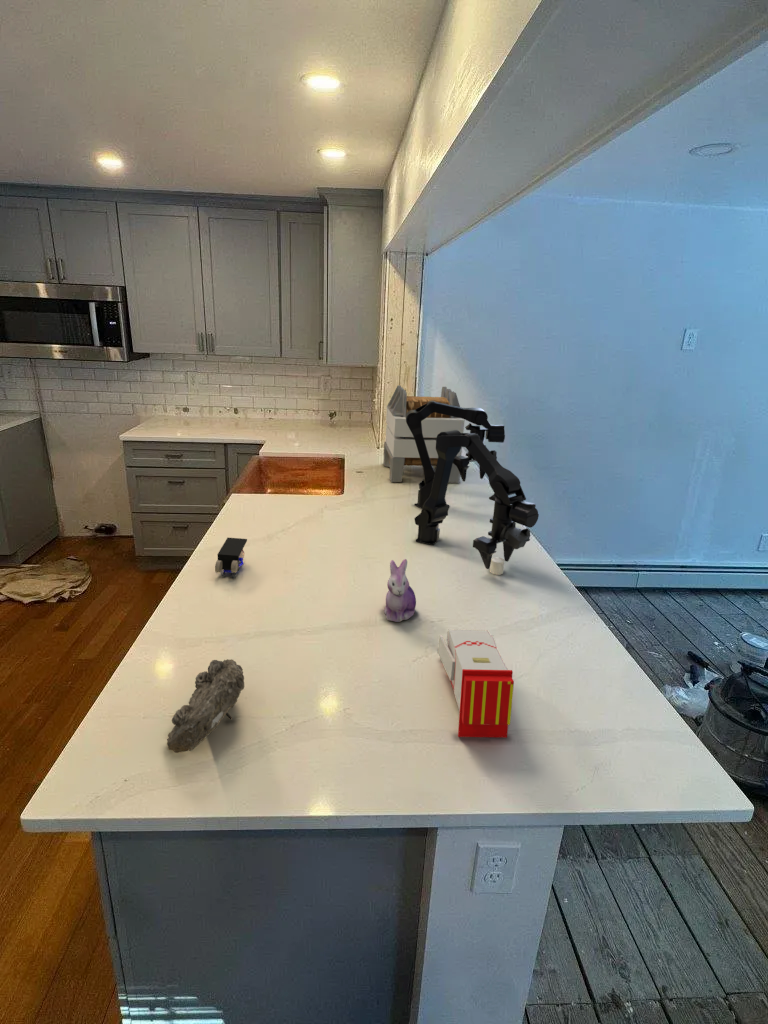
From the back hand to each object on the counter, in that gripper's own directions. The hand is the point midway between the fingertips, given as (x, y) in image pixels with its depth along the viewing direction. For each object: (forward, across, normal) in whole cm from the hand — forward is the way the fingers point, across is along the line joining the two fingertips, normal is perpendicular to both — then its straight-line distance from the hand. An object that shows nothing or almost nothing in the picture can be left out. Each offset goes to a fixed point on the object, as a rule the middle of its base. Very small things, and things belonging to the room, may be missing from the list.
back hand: (472, 479), depth 225 cm
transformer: (+12, +12, +50) cm, 53 cm away
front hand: (+10, -32, -49) cm, 60 cm away
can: (+12, -32, -49) cm, 60 cm away
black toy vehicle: (+12, -102, -11) cm, 103 cm away
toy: (+12, -78, -90) cm, 119 cm away
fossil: (+12, -126, -71) cm, 145 cm away
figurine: (+12, -73, -56) cm, 93 cm away
